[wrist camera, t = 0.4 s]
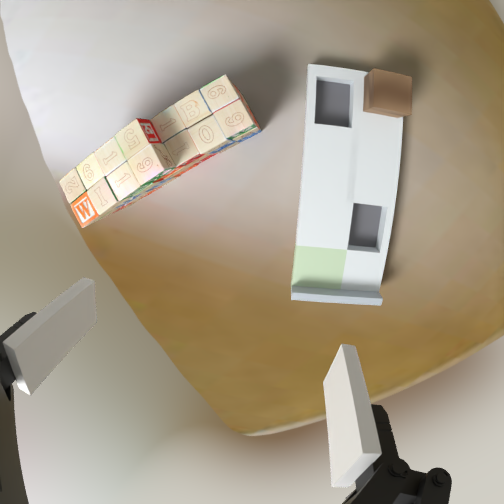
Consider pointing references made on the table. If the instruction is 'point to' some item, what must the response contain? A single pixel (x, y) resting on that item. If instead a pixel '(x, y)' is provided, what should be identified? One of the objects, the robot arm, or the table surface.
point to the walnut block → (387, 93)
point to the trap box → (344, 191)
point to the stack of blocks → (158, 150)
